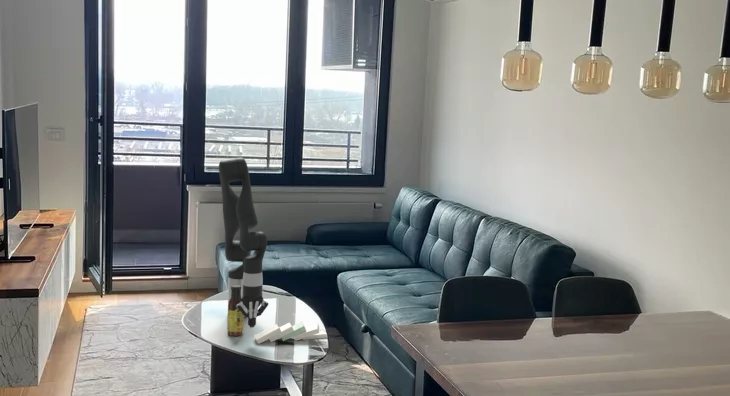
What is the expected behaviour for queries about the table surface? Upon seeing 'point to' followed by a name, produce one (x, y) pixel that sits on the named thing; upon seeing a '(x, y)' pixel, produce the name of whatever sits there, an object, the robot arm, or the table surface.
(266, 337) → the domino
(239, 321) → the sauce bottle
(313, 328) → the domino
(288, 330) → the domino
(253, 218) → the robot arm
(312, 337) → the domino
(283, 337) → the domino
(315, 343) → the table surface
